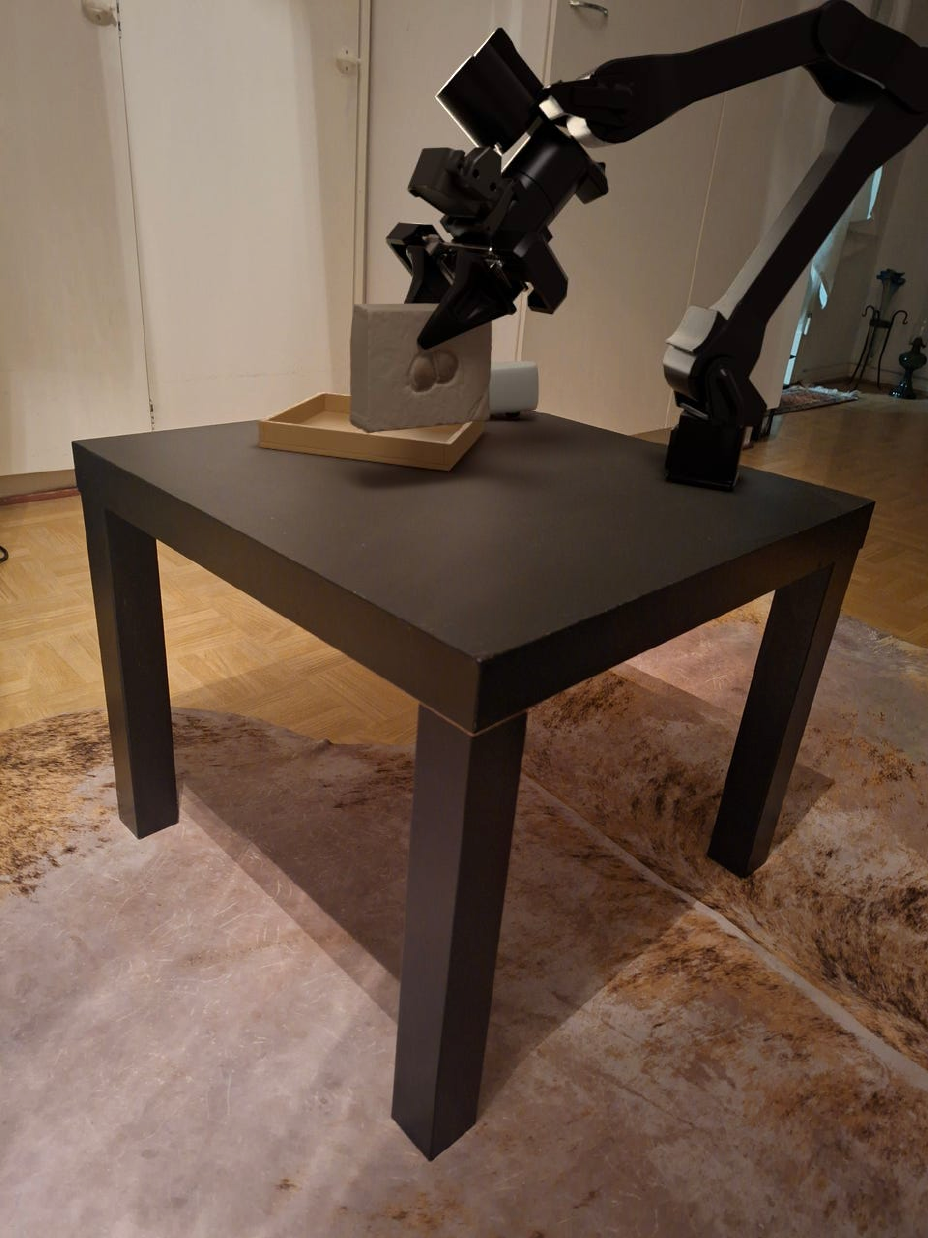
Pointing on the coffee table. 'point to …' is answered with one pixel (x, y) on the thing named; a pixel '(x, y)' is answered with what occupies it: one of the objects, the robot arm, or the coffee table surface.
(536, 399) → the toy
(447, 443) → the wooden tray
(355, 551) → the coffee table surface
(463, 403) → the fossil
